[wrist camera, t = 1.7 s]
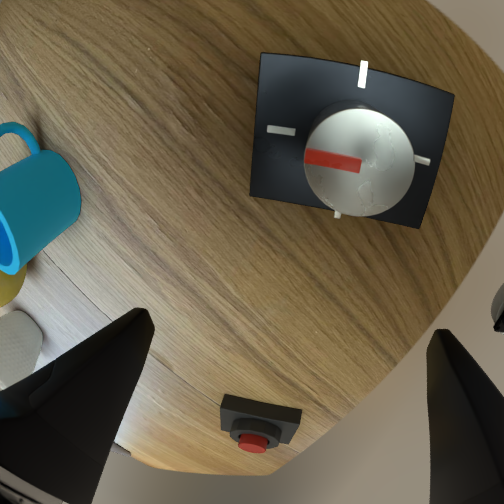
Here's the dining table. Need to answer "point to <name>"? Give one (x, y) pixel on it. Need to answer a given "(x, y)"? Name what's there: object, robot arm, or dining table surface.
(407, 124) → the dial panel
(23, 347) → the mug
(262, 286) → the dining table surface
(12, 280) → the fruit
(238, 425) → the button block
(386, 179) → the dial
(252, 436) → the button
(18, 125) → the mug
